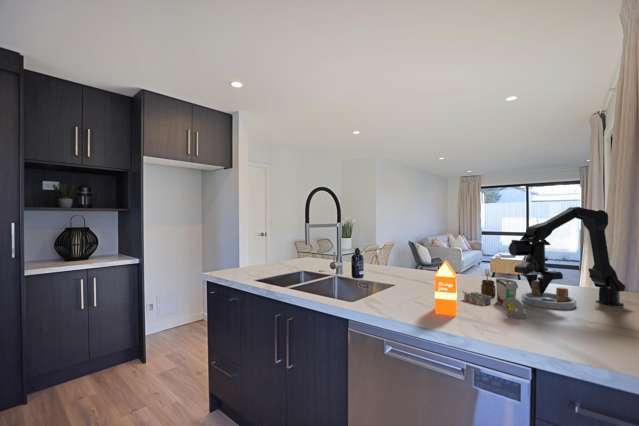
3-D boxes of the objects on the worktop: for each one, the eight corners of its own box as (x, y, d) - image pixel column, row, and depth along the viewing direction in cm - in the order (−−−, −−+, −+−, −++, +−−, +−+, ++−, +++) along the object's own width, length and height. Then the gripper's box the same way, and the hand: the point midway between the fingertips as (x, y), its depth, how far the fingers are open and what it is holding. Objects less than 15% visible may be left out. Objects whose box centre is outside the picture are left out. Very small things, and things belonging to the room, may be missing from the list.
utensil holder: (482, 296, 144) (481, 270, 144) (480, 293, 150) (479, 268, 150) (496, 297, 142) (496, 271, 142) (494, 294, 148) (493, 269, 148)
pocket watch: (524, 314, 118) (523, 288, 118) (531, 321, 110) (530, 293, 110) (499, 312, 121) (499, 286, 121) (505, 319, 113) (504, 291, 113)
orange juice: (457, 309, 125) (456, 260, 125) (456, 316, 117) (455, 263, 117) (436, 307, 128) (435, 259, 128) (434, 313, 120) (433, 262, 120)
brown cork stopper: (566, 301, 132) (566, 287, 132) (570, 304, 129) (569, 289, 129) (555, 300, 134) (554, 287, 134) (558, 303, 130) (558, 289, 130)
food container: (523, 309, 124) (523, 284, 124) (506, 308, 125) (506, 284, 125) (511, 301, 136) (510, 278, 136) (496, 300, 137) (495, 278, 138)
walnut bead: (537, 293, 134) (537, 279, 134) (545, 296, 130) (545, 281, 130) (529, 294, 134) (529, 280, 134) (537, 296, 130) (537, 282, 130)
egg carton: (461, 300, 140) (460, 290, 140) (474, 298, 143) (474, 289, 143) (480, 306, 130) (479, 296, 130) (494, 304, 132) (493, 294, 132)
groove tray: (547, 296, 144) (547, 291, 144) (587, 307, 125) (587, 301, 125) (512, 298, 140) (512, 293, 140) (548, 310, 122) (548, 304, 122)
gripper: (503, 253, 140) (504, 288, 140) (539, 259, 122) (540, 299, 122) (525, 252, 142) (525, 287, 142) (563, 258, 124) (564, 297, 123)
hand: (537, 292), depth 132 cm, fingers closed on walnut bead, 4 cm apart
